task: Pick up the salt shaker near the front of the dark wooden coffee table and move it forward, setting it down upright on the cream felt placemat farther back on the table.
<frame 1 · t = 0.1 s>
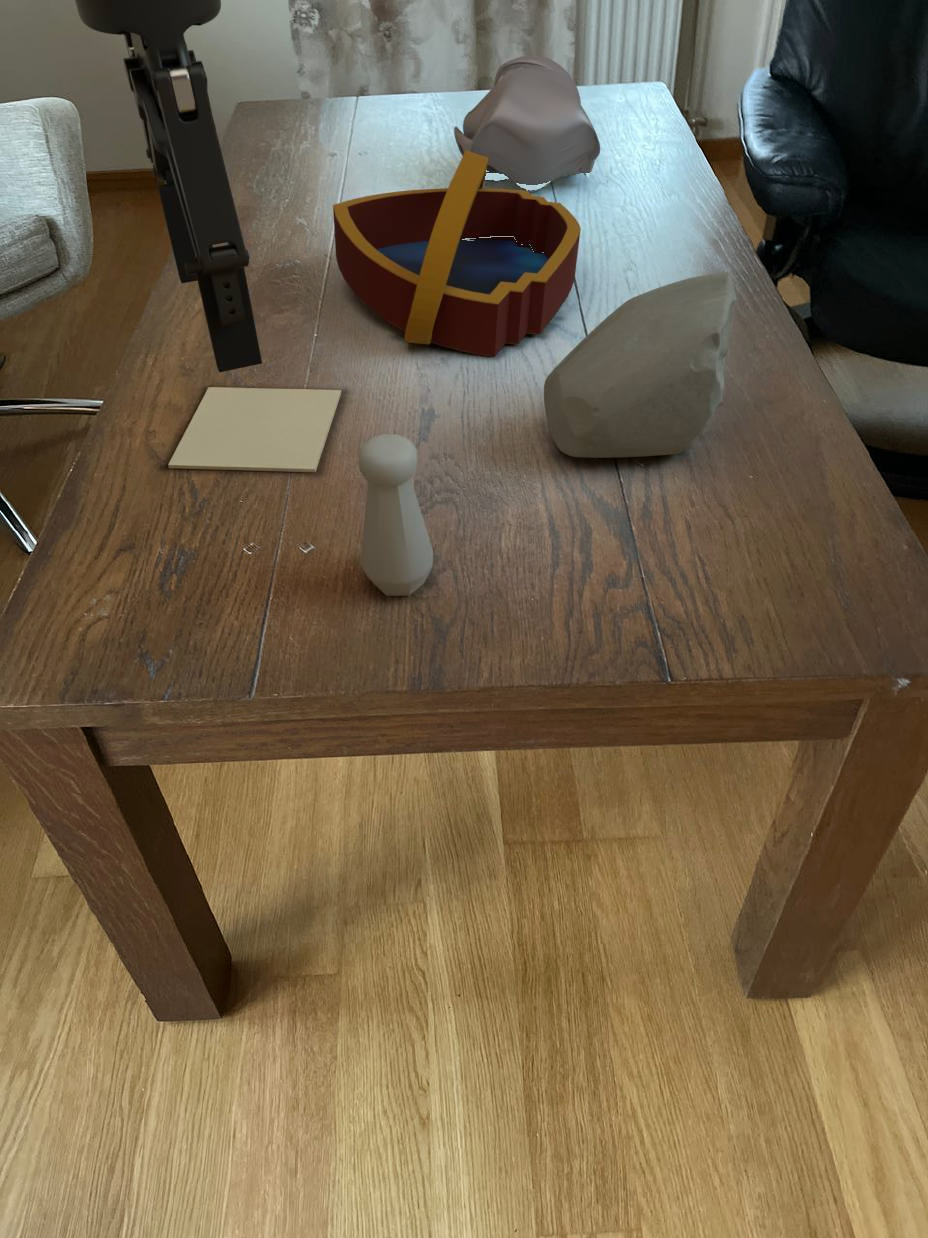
hand: (218, 319, 64), 22 cm above the table, tool pointing down, fingers open, 13 cm apart
decorative stone: (633, 440, 91), on the table
placemat: (259, 428, 94), on the table
salt shaker: (399, 582, 77), on the table
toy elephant: (525, 183, 139), on the table
decorative basket: (455, 292, 115), on the table
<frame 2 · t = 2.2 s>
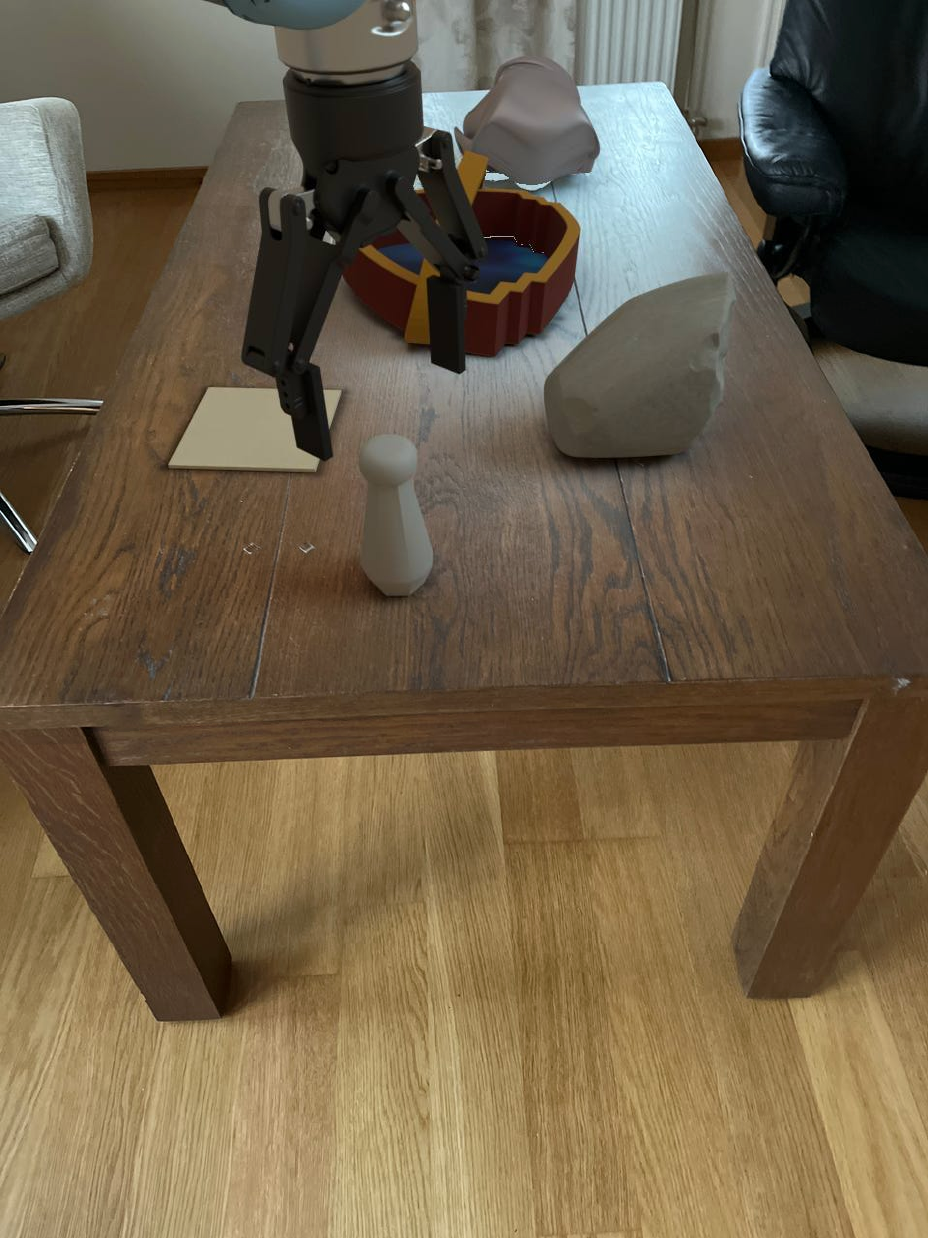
hand: (385, 407, 66), 16 cm above the table, tool pointing down, fingers open, 13 cm apart
nothing on the table moved.
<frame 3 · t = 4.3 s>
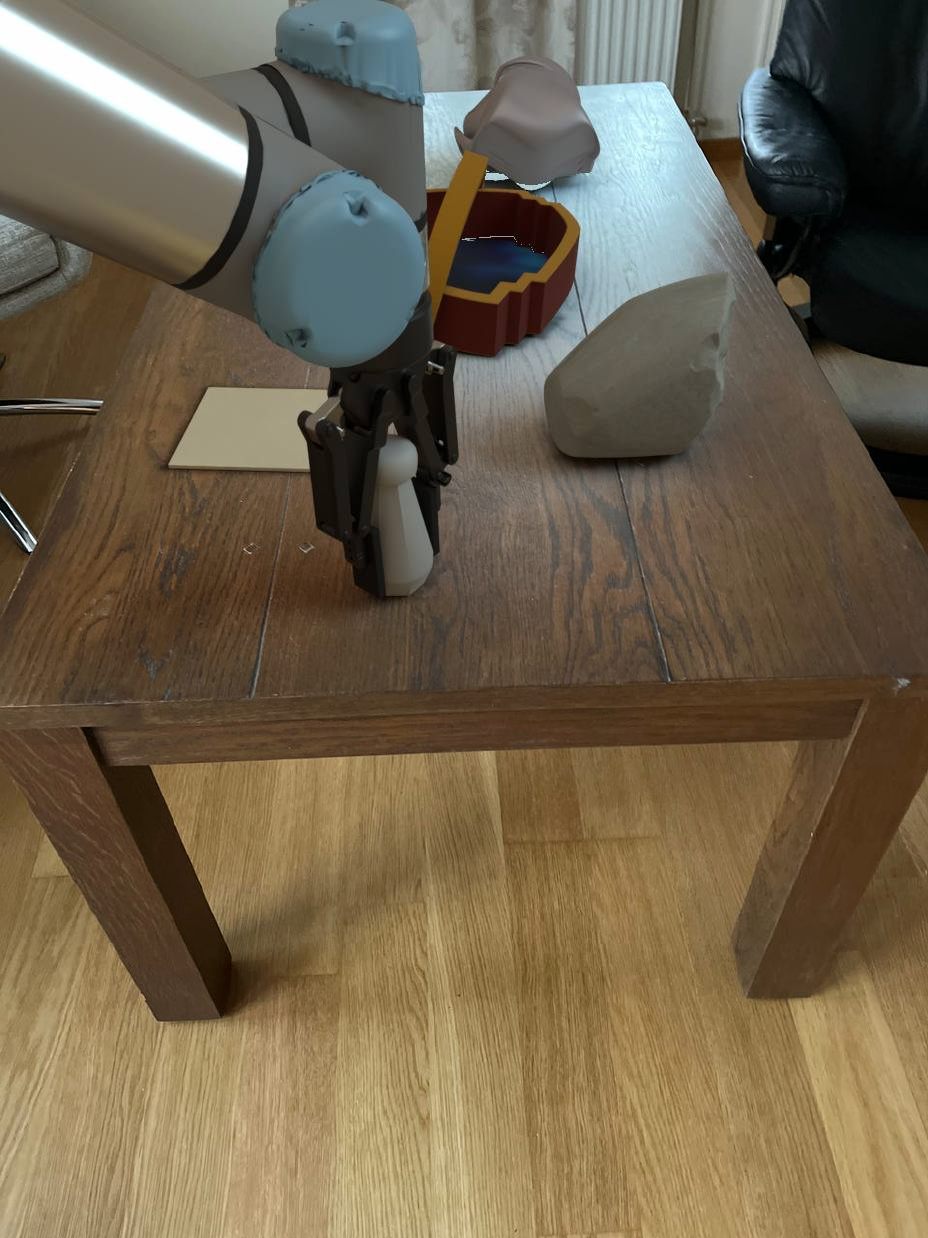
hand: (397, 567, 76), 1 cm above the table, tool pointing down, fingers closed on salt shaker, 6 cm apart
salt shaker: (399, 582, 77), on the table, touching gripper
everything else where it was.
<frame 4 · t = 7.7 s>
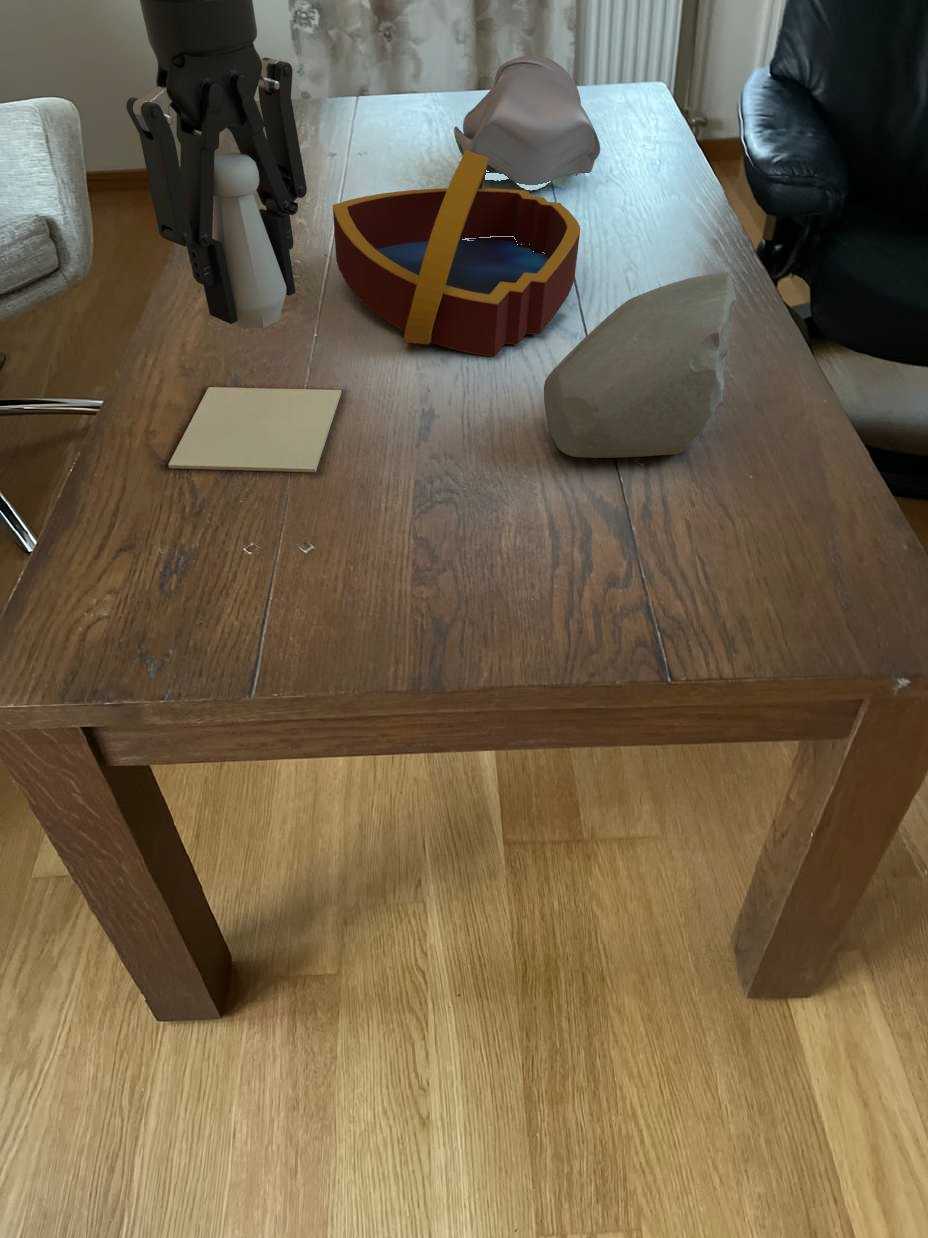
hand: (253, 303, 80), 15 cm above the table, tool pointing down, fingers closed on salt shaker, 6 cm apart
salt shaker: (256, 320, 81), point 13 cm above the table, touching gripper
everything else where it was.
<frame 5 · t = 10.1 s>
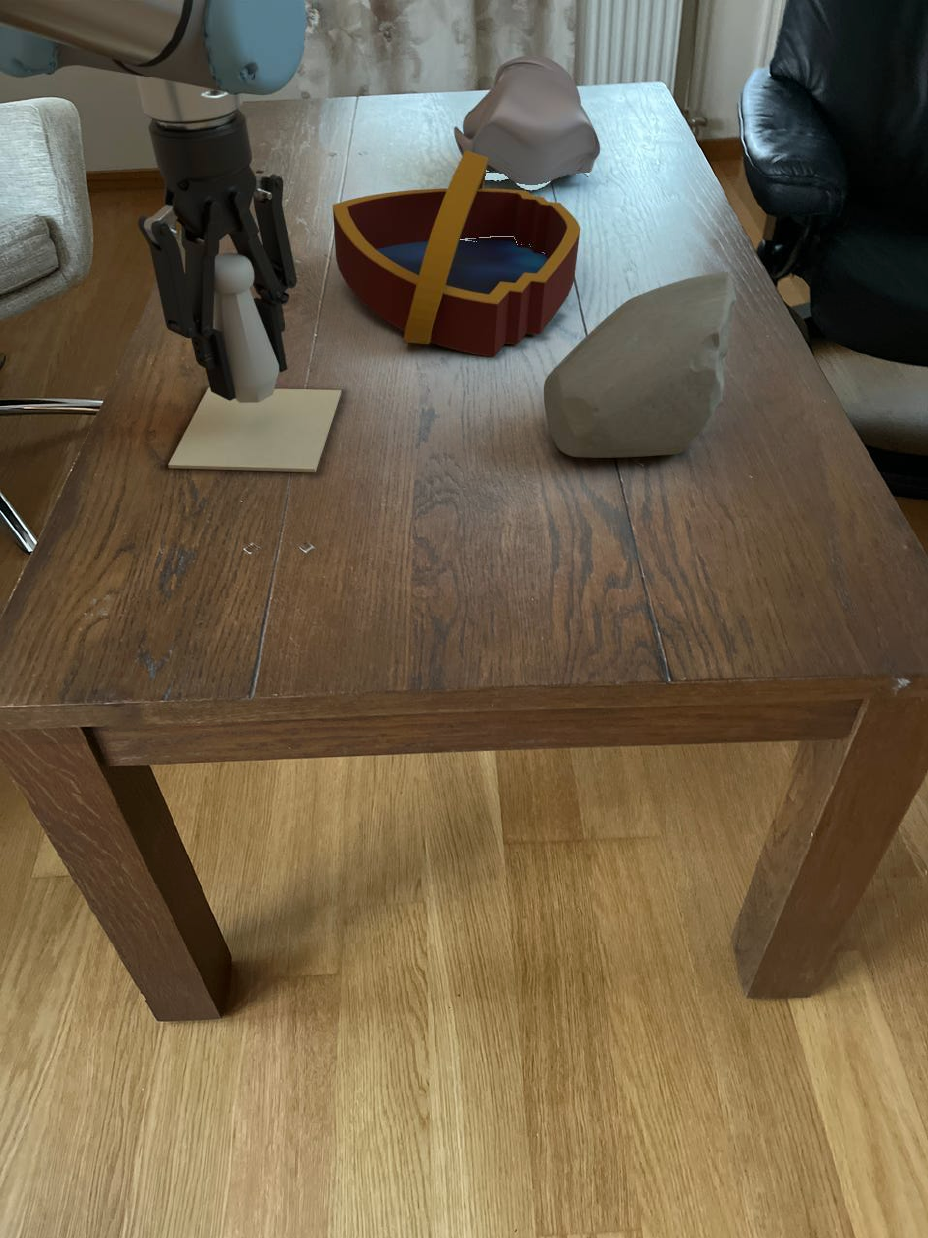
hand: (249, 379, 90), 5 cm above the table, tool pointing down, fingers closed on salt shaker, 6 cm apart
salt shaker: (252, 394, 91), point 4 cm above the table, touching gripper
everything else where it was.
when the fingers open (2 cm above the table, at t = 11.4 s): salt shaker stays where it is, resting on placemat.
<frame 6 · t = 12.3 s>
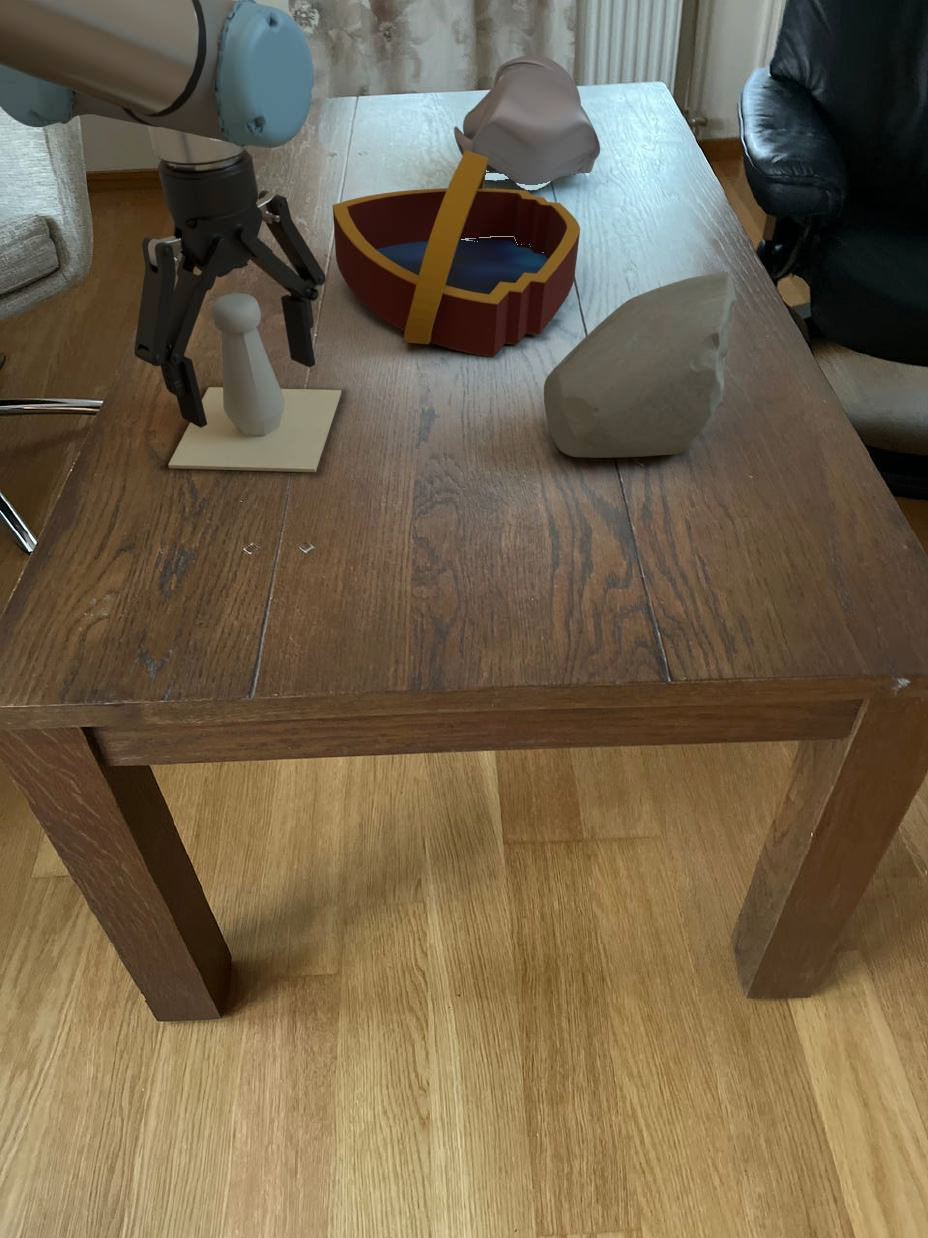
hand: (251, 390, 91), 4 cm above the table, tool pointing down, fingers open, 13 cm apart
salt shaker: (259, 427, 93), resting on placemat
everything else where it was.
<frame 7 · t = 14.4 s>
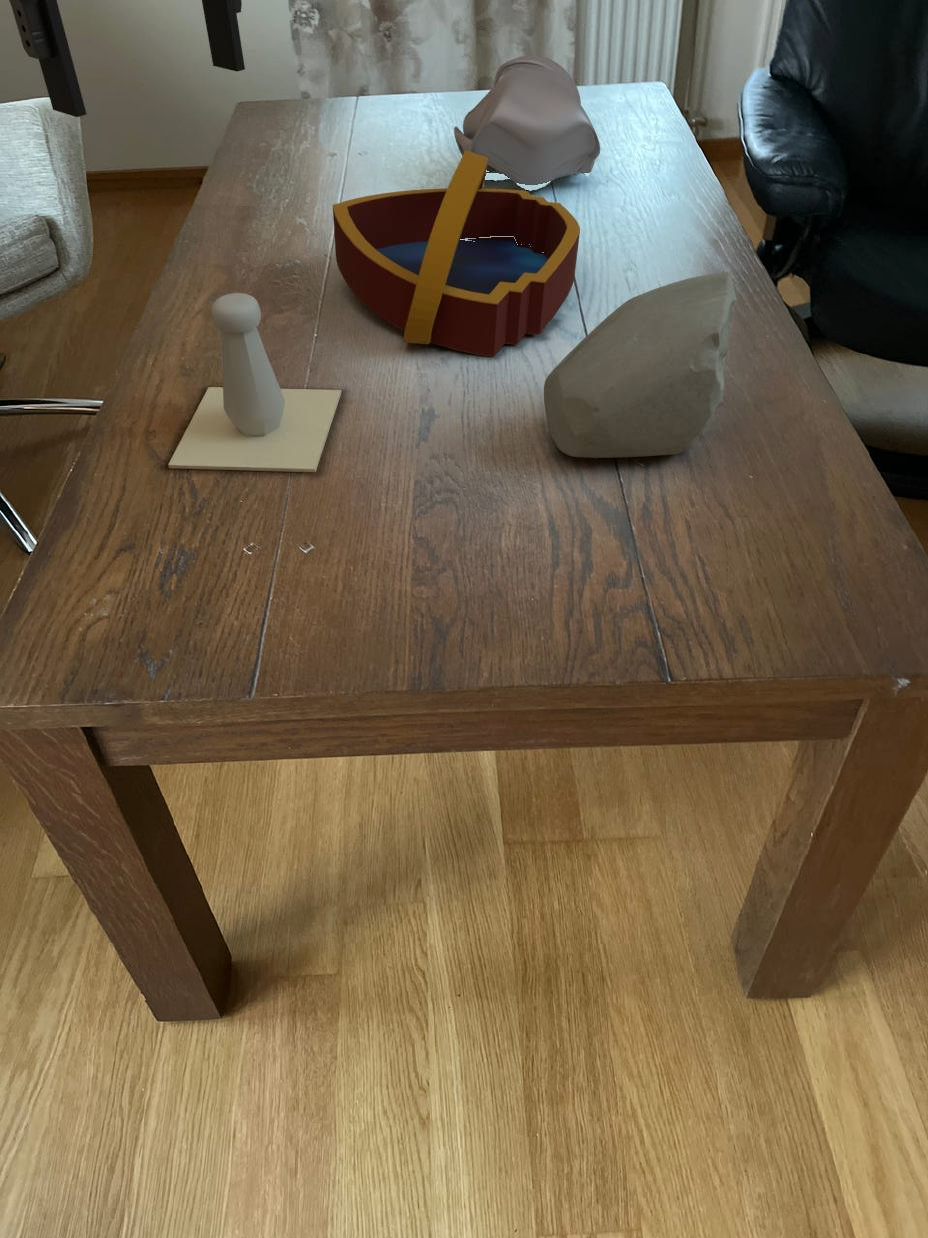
hand: (154, 89, 66), 32 cm above the table, tool pointing down, fingers open, 13 cm apart
nothing on the table moved.
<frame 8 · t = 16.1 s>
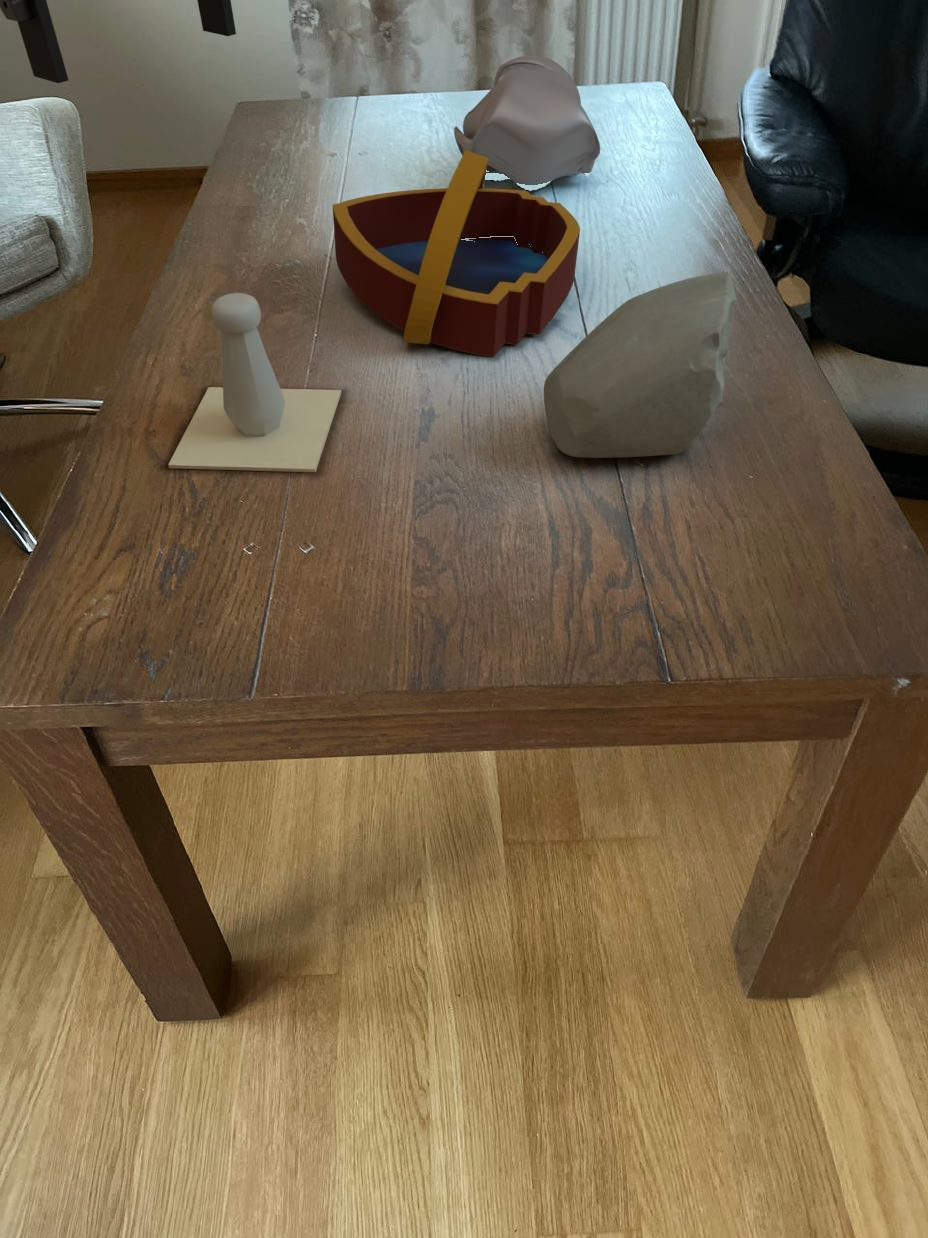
hand: (140, 54, 63), 35 cm above the table, tool pointing down, fingers open, 13 cm apart
nothing on the table moved.
at the end: salt shaker inside the target area on the placemat (0.0 cm from its centre), point 0.2 cm above the placemat's base; salt shaker tilted 0°; the gripper is holding nothing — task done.
